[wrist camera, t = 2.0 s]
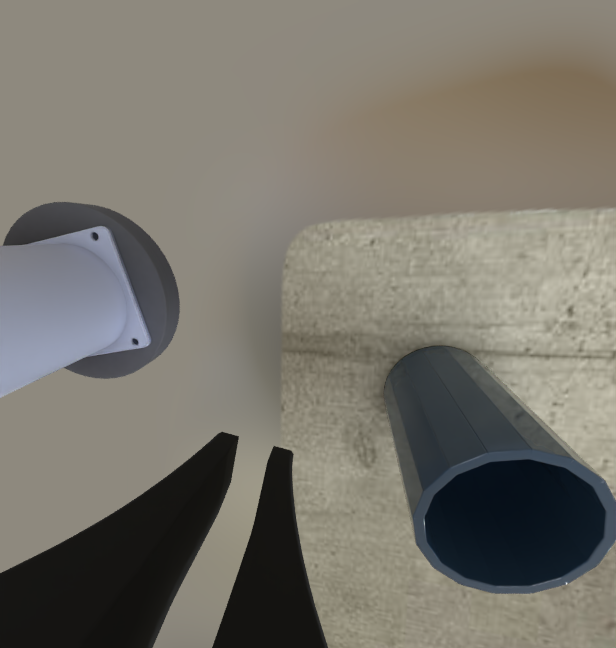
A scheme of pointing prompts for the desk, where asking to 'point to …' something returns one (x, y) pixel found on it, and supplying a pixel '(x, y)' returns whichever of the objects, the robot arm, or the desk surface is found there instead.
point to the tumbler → (491, 479)
